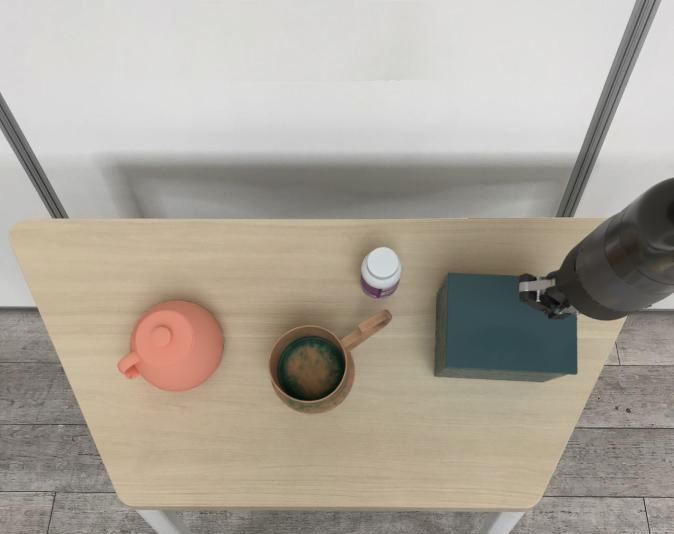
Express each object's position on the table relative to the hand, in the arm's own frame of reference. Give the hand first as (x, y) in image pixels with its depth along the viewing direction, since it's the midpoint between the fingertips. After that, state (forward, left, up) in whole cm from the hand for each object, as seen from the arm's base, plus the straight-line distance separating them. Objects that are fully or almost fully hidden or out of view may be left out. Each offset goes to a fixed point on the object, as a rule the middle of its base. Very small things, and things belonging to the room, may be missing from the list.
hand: (554, 310), depth 66 cm
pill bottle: (+20, +2, -18) cm, 27 cm away
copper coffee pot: (+20, +15, -18) cm, 31 cm away
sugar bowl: (+39, +25, -18) cm, 50 cm away
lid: (+2, +1, -8) cm, 9 cm away
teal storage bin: (+3, +1, -18) cm, 19 cm away
